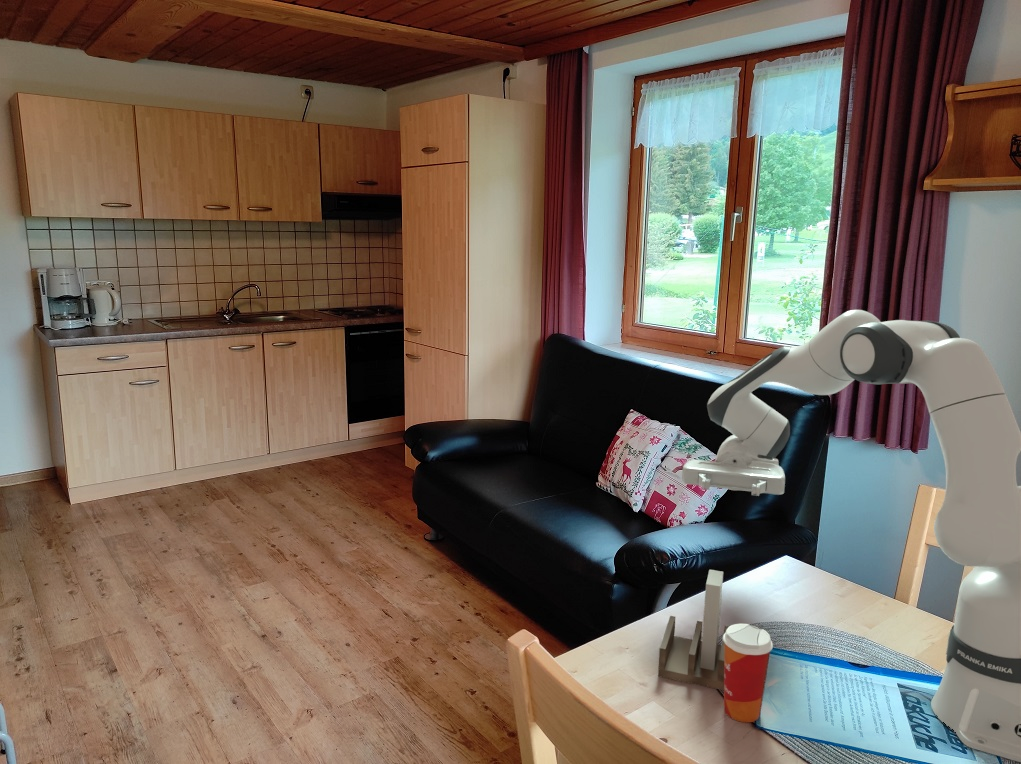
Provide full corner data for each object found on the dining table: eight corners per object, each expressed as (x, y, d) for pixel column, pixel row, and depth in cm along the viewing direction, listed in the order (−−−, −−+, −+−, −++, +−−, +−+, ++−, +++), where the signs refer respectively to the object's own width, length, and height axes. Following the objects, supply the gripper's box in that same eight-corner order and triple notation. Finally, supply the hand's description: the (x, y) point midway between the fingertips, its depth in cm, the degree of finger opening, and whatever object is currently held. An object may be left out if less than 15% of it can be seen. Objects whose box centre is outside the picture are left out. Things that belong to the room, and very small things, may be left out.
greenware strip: (717, 652, 137) (723, 571, 134) (714, 670, 132) (720, 586, 129) (703, 650, 138) (709, 569, 135) (700, 667, 133) (706, 584, 129)
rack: (756, 659, 138) (758, 632, 137) (753, 696, 127) (755, 667, 126) (668, 642, 144) (670, 615, 142) (658, 676, 132) (659, 648, 131)
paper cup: (729, 691, 128) (735, 616, 125) (773, 710, 124) (780, 632, 121) (709, 713, 122) (715, 635, 120) (755, 734, 118) (762, 653, 115)
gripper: (686, 449, 163) (677, 467, 151) (786, 459, 157) (785, 479, 144) (684, 476, 165) (676, 497, 152) (783, 488, 158) (783, 510, 145)
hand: (730, 488), depth 148 cm, fingers open, 8 cm apart
